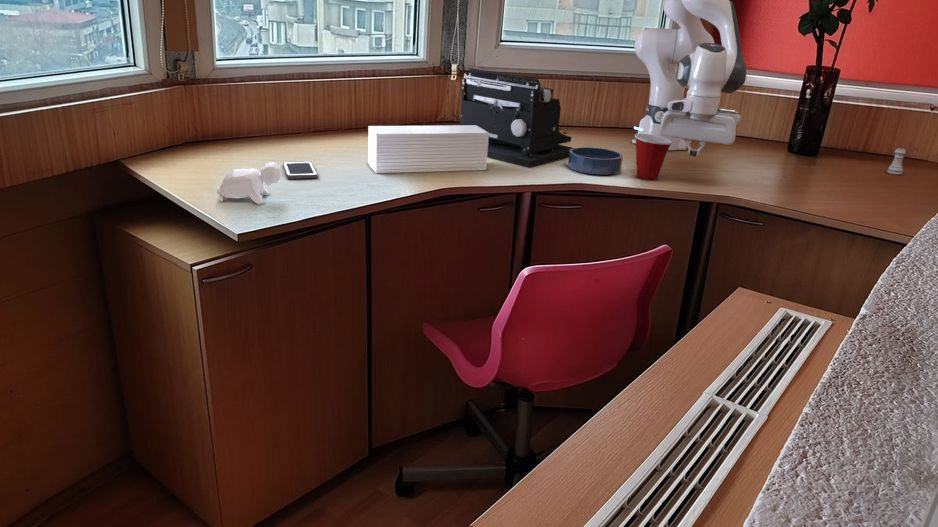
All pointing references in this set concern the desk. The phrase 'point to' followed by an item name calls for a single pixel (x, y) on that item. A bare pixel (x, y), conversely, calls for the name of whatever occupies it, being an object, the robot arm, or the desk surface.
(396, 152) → the stack of papers
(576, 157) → the bowl
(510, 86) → the typewriter
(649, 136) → the plastic cup
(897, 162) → the rook chess piece
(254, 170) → the white animal figurine
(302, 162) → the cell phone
